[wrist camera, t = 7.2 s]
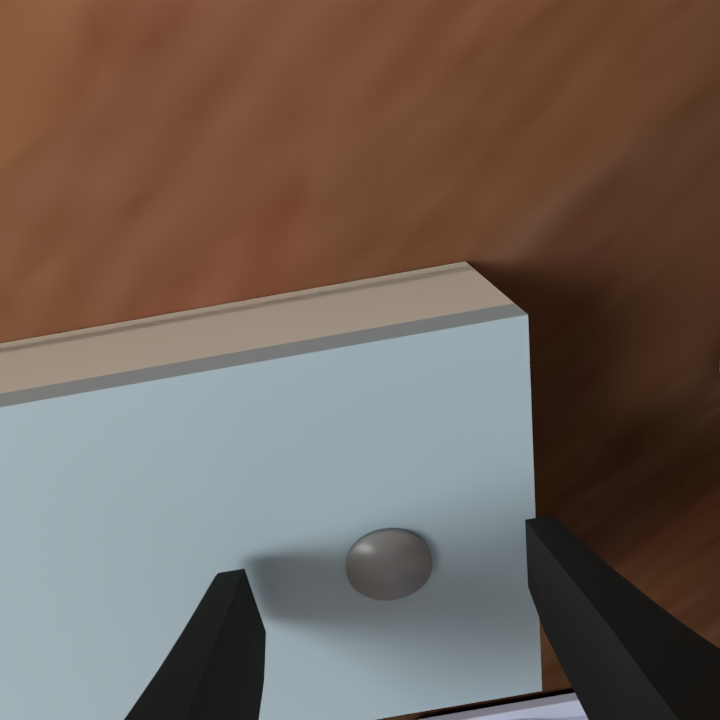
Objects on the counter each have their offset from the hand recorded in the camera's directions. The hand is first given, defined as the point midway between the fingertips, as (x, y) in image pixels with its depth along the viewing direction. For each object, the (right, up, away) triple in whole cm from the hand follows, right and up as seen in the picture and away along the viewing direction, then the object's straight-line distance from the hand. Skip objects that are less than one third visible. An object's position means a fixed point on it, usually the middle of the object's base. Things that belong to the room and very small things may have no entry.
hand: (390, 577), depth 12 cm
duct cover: (-5, 0, +1) cm, 6 cm away
